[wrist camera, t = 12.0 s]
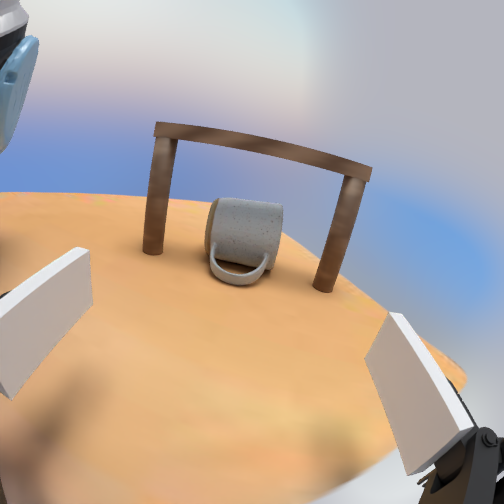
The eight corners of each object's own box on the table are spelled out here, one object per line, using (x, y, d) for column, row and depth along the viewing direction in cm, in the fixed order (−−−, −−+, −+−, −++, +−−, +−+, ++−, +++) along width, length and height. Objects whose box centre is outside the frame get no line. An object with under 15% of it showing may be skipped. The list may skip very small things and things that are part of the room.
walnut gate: (139, 252, 29) (155, 121, 24) (147, 245, 31) (163, 123, 26) (334, 293, 30) (373, 167, 24) (329, 284, 32) (365, 166, 27)
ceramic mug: (209, 243, 36) (219, 186, 33) (269, 255, 37) (282, 200, 34) (192, 280, 26) (203, 204, 24) (273, 296, 27) (293, 222, 24)
